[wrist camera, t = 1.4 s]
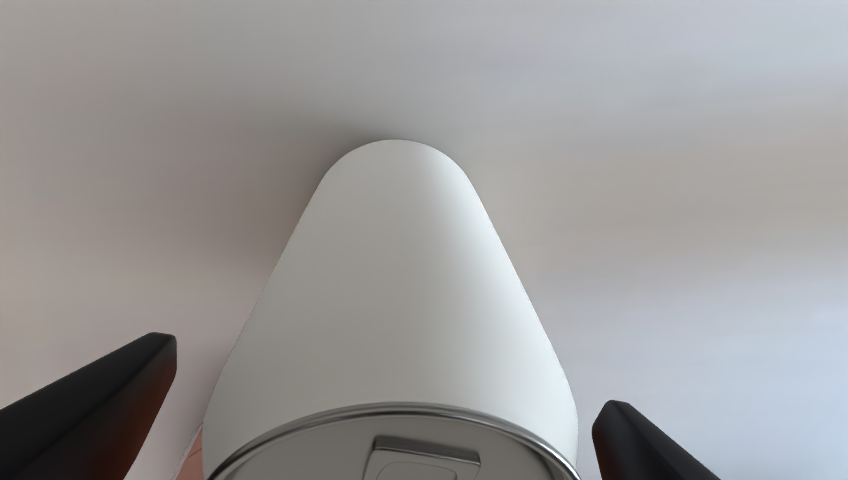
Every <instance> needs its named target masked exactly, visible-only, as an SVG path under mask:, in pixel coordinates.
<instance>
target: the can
mask: <svg viewBox="0 0 848 480" xmlns="http://www.w3.org/2000/svg"><path fill="white" fill-rule="evenodd" d="M577 453H578V418H577V411H576V406H575V402H574V399H573V396H572V393H571V390H570V387H569V384H568V381H567V379H566V377H565V374H564V372H563V370H562V367H561V365H560V363H559V361H558V358H557V356H556V354H555V352H554V350H553V348H552V346H551V343H550V341H549V339H548V337H547V335H546V333H545V331H544V329H543V327H542V325H541V323H540V320H539V318H538V316H537V314H536V312H535V310H534V308H533V306H532V304H531V302H530V300H529V298H528V296H527V294H526V292H525V290H524V288H523V286H522V284H521V282H520V279H519V277H518V275H517V273H516V271H515V269H514V267H513V265H512V263H511V261H510V259H509V257H508V255H507V253H506V251H505V249H504V247H503V245H502V243H501V241H500V239H499V237H498V235H497V233H496V231H495V229H494V227H493V225H492V223H491V221H490V219H489V217H488V215H487V213H486V211H485V209H484V207H483V205H482V203H481V201H480V199H479V197H478V195H477V193H476V191H475V190H474V188H473V186H472V184H471V182H470V181H469V179H468V178H467V176H466V175H465V173H464V172H463V171H462V170H461V168H460V167H459V166H458V165H457V164H456V163H455V162H454V161H453V160H451V159H450V158H449V157H448V156H446V155H445V154H443V153H442V152H440V151H438V150H436V149H434V148H432V147H430V146H427V145H425V144H422V143H418V142H414V141H408V140H382V141H377V142H372V143H369V144H366V145H363V146H361V147H358V148H356V149H354V150H352V151H351V152H349V153H347V154H346V155H344V156H343V157H342V158H340V159H339V160H338V161H337V162H336V163H335V164H334V165H333V166H332V167H331V168H330V169H329V170H328V172H327V173H326V174H325V176H324V177H323V179H322V180H321V182H320V184H319V185H318V187H317V189H316V191H315V192H314V194H313V196H312V198H311V200H310V202H309V203H308V205H307V207H306V209H305V211H304V213H303V215H302V217H301V218H300V220H299V222H298V224H297V226H296V228H295V230H294V232H293V234H292V235H291V237H290V239H289V241H288V243H287V245H286V247H285V249H284V251H283V253H282V255H281V256H280V258H279V260H278V262H277V264H276V266H275V268H274V270H273V272H272V274H271V276H270V278H269V279H268V281H267V283H266V285H265V287H264V289H263V291H262V293H261V295H260V297H259V299H258V301H257V303H256V305H255V307H254V308H253V310H252V312H251V314H250V316H249V318H248V320H247V322H246V324H245V326H244V328H243V330H242V332H241V334H240V336H239V338H238V340H237V342H236V344H235V346H234V348H233V350H232V352H231V354H230V356H229V358H228V360H227V362H226V364H225V366H224V368H223V370H222V372H221V375H220V377H219V379H218V381H217V383H216V385H215V388H214V390H213V393H212V396H211V398H210V401H209V404H208V407H207V410H206V413H205V418H204V423H203V433H202V461H203V474H204V480H581V478H580V476H579V475H578V473H577V472H576V464H577Z"/></svg>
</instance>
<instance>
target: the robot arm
mask: <svg viewBox="0 0 848 480" xmlns="http://www.w3.org/2000/svg"><path fill="white" fill-rule="evenodd" d="M176 370H177V342H176V338H175V336H173V335H171V334H164V333H158V332H151V333H148V334H146V335H144V336H142V337H140V338H138V339H136V340H134V341H133V342H131V343H129V344H127V345H125V346H123V347H121V348H119V349H117V350H115V351H113V352H111V353H109V354H107V355H105V356H103V357H102V358H100V359H98V360H96V361H94V362H92V363H90V364H88V365H86V366H84V367H82V368H80V369H78V370H76V371H74V372H73V373H71V374H69V375H67V376H65V377H63V378H61V379H59V380H57V381H55V382H53V383H51V384H49V385H47V386H45V387H43V388H42V389H40V390H38V391H36V392H34V393H32V394H30V395H28V396H26V397H24V398H22V399H20V400H18V401H16V402H14V403H12V404H11V405H9V406H7V407H5V408H3V409H1V410H0V480H123V479H124V478H125V476H126V474H127V473H128V471H129V469H130V468H131V466H132V464H133V463H134V461H135V459H136V457H137V455H138V453H139V451H140V449H141V447H142V445H143V443H144V441H145V439H146V437H147V435H148V433H149V431H150V429H151V427H152V424H153V422H154V420H155V418H156V416H157V414H158V412H159V410H160V408H161V406H162V404H163V401H164V399H165V397H166V395H167V393H168V391H169V389H170V387H171V385H172V383H173V380H174V378H175V375H176ZM592 439H593V443H594V447H595V452H596V456H597V460H598V464H599V468H600V473H601V477H602V480H720V479H719V478H718V477H717V476H716V475H714V474H713V473H712V472H711V471H710V470H708V469H707V468H706V467H705V466H704V465H702V464H701V463H700V462H699V461H698V460H696V459H695V458H694V457H693V456H692V455H690V454H689V453H688V452H687V451H686V450H684V449H683V448H682V447H681V446H680V445H678V444H677V443H676V442H675V441H673V440H672V439H671V438H670V437H669V436H667V435H666V434H665V433H664V432H663V431H661V430H660V429H659V428H658V427H657V426H655V425H654V424H653V423H652V422H651V421H649V420H648V419H647V418H646V417H645V416H643V415H642V414H641V413H640V412H639V411H637V410H636V409H635V408H634V407H633V406H631V405H630V404H629V403H626V402H622V401H615V400H609V401H608V402H606V403H605V405H604V406H603V408H602V410H601V411H600V413H599V415H598V417H597V418H596V420H595V422H594V424H593V426H592Z"/></svg>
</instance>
